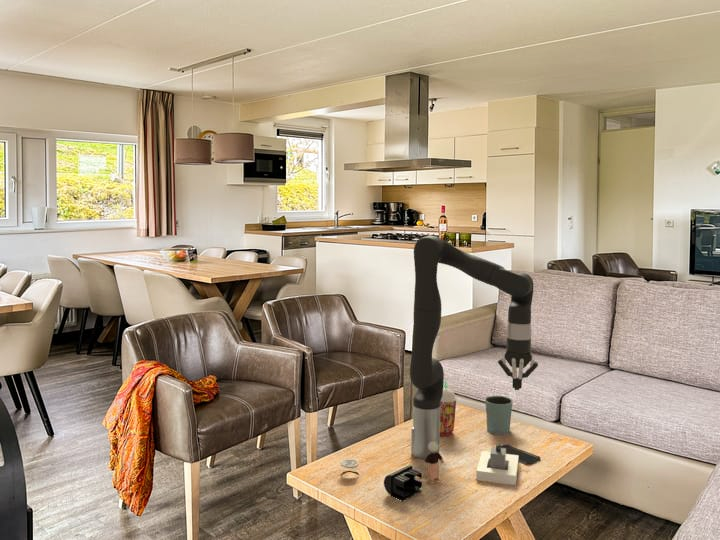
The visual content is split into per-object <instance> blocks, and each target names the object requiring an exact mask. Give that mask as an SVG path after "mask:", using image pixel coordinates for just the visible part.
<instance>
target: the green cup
mask: <svg viewBox="0 0 720 540" xmlns="http://www.w3.org/2000/svg"><path fill="white" fill-rule="evenodd" d="M484 402H485V403H484V404H485V413H486V414H485V417H486V430H487V431H488V432H489V433H491V434H495V435H506V434H509V433H510V430H511V421H512V420H511V419H512V409H513V399H512V398H510V397H508V396H507V397H506V396H502V395H490V396H487V397H486V398H485V399H484Z"/></svg>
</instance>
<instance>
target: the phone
mask: <svg viewBox="0 0 720 540" xmlns="http://www.w3.org/2000/svg"><path fill="white" fill-rule="evenodd" d="M501 448H506V454H511V455H519V460H518V463H520V464H523V465H525V466H531V465H533V464H536V463H537V462H540V461H541V457H540V456H539V455H536V454H533V453H530V452H528V451H525V450H524V449H523V450H522V449H520V448H518V447H514V446H512V445H510V444H503V445H502V444H501Z"/></svg>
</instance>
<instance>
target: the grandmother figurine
mask: <svg viewBox="0 0 720 540" xmlns="http://www.w3.org/2000/svg"><path fill="white" fill-rule="evenodd" d="M439 447H440V445H439V446H438V444H437V443H436V442H434V441H433V442H430V443H429V444H428V449H429V451H430V452H431V454H429V455H428V456H427V457H426V459H424V461H423V465H422V466H423V468H427V475H426V476H427V479H426V483H428V484H435V483H436V482H440V481H441V479H440V469H439V467H440V466H439V461H440V464H444V463H445V462H444V459H443V456H442V455H441V454H440V452H439V453H437V450H438V448H439Z"/></svg>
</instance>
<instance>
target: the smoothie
mask: <svg viewBox="0 0 720 540" xmlns="http://www.w3.org/2000/svg"><path fill="white" fill-rule="evenodd" d="M456 407H457V397H456V395H455V392H454V391H453V390H452V389H450V388H448V387H447V380H445V381H444V387H443V395H442V399H441V402H440V435H441V436H446V437H447V436H451V435H452V434H453V432H454V430H455V420H456V419H455V418H456V409H457V408H456Z"/></svg>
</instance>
